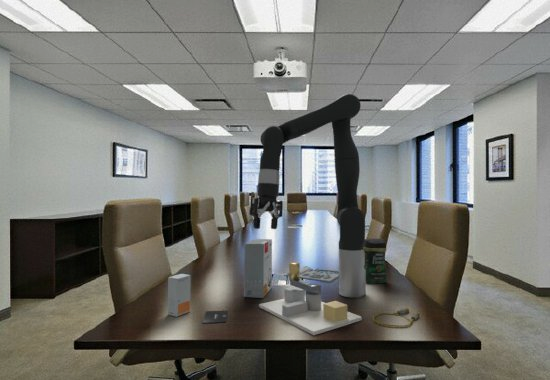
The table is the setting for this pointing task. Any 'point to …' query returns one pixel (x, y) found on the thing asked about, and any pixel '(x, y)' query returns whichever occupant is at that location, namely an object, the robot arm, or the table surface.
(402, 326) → the extension cord
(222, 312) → the solid state drive
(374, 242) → the coffee jar
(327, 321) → the base
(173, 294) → the skincare box
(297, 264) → the bar
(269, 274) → the hard drive box
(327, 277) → the grey patterned tray
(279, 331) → the table surface
